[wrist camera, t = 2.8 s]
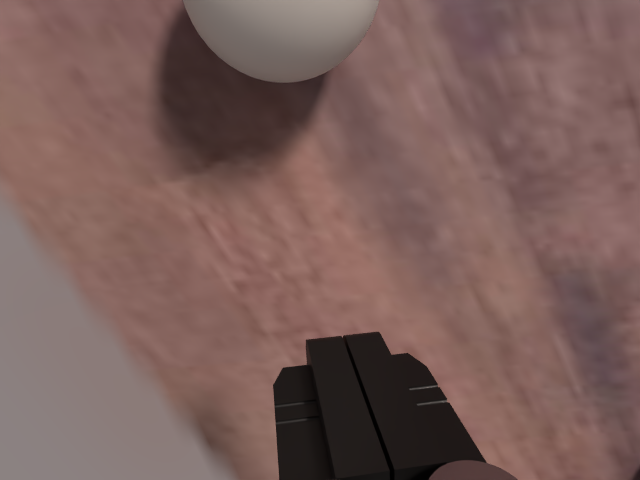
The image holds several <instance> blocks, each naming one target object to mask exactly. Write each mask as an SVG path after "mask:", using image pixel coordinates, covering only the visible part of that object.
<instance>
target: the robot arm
mask: <svg viewBox="0 0 640 480" xmlns="http://www.w3.org/2000/svg"><path fill="white" fill-rule="evenodd" d="M306 357H307V365H303V366H294V367H286V368H283V369H282V370H281V372H280V374H279V376H278V378H277V379H276V381H275V383H274V385H273V389H274V404H275V419H276V435H277V450H278V465H279V480H518V479H516V478H515V477H514V476H512V475H511V474H509V473H508V472H506V471H505V470H503V469H501V468H499V467H496V466H494V465H491V464H488V463H486V461H485V459H484V458H483V456H482V455H481V453H480V451H479V450H478V448H477V446H476V445H475V443H474V442H473V440H472V438H471V437H470V435H469V434H468V432H467V430H466V429H465V427H464V426H463V424H462V422H461V421H460V419H459V418H458V416H457V414H456V413H455V411H454V410H453V408H452V406H451V405H450V403H447V398H446V397H445V395H444V393H443V392H442V390H441V389H440V387H439V388H438V384H437V382H436V381H435V379H434V377H433V376H432V374H431V373H430V371H429V369H428V368H427V366H425V365H424V364H423V363H421V362H420V361H418V360H417V359H415V358H414V357H413V356H411V355H410V354H408V353H404V354H395V355H391V353H390V351H389V349H388V347H387V345H386V344H385V342H384V340H383V338H382V336H381V334H380V333H379V332H371V333H362V334H353V335H344V336H343V338H342V336H336V337H327V338H318V339H309V340H306Z"/></svg>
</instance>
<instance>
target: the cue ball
mask: <svg viewBox="0 0 640 480" xmlns="http://www.w3.org/2000/svg"><path fill="white" fill-rule="evenodd" d="M183 3H184V6H185V9H186V11H187V13H188V15H189V17H190V19H191V22H192V24H193V25H194V27H195V29H196V30H197V32H198V34H199V35H200V37H201V38H202V39H203V40H204V42H205V43H206V44H207V46H208V47H209V48H210V49H211V50H212V51H213V52H214V53H215V54H216V55H217V56H218V57H219V58H221V59H222V60H223V61H224V62H226V63H227V64H228V65H230V66H231V67H233V68H235V69H236V70H238V71H240V72H241V73H244V74H246V75H248V76H251V77H253V78H257V79H260V80H264V81H269V82H276V83H292V82H299V81H304V80H308V79H311V78H315V77H317V76H319V75H322V74H324V73H326V72H328V71H329V70H331V69H333V68H334V67H336V66H337V65H338V64H340V63H341V62H342V61H343V60H344V59H346V58H347V57H348V56H349V55H350V54H351V53H352V51H353V50H354V49H355V48H356V47H357V46H358V45H359V43H360V42H361V40H362V39H363V38H364V36H365V34H366V33H367V31H368V29H369V27H370V25H371V23H372V21H373V18H374V16H375V13H376V11H377V7H378V3H379V0H183Z"/></svg>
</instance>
